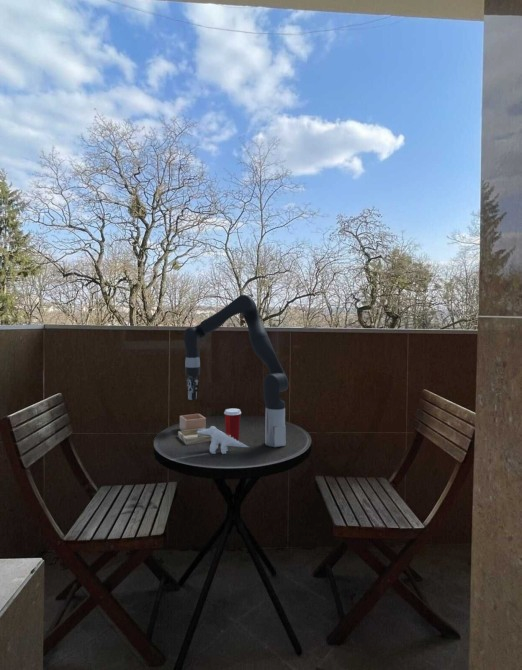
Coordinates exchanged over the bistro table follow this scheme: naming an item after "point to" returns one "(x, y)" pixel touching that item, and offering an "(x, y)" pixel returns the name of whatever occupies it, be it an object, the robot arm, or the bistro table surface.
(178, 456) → the bistro table surface
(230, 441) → the dinosaur statue
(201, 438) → the tray
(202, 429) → the stone
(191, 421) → the bin
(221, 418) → the bistro table surface
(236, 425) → the coffee cup
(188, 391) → the stone
